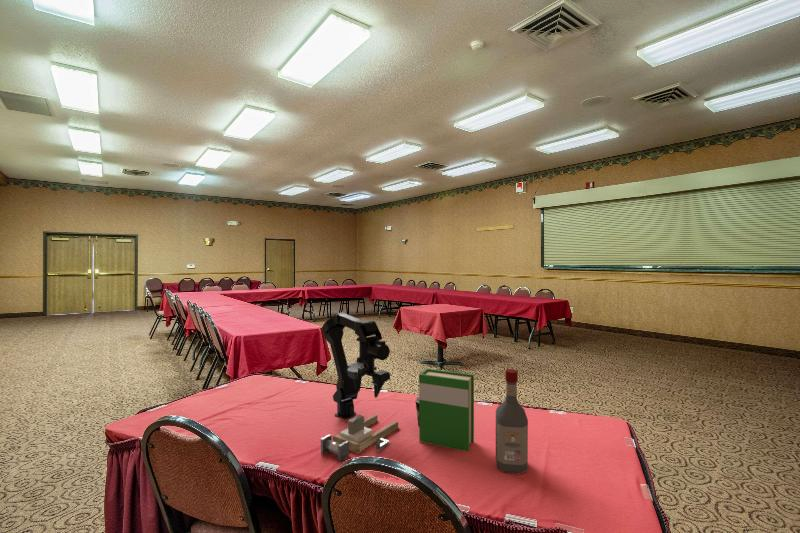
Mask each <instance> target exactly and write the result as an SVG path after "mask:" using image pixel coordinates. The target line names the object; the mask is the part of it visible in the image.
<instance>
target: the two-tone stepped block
mask: <svg viewBox="0 0 800 533" xmlns="http://www.w3.org/2000/svg"><path fill="white" fill-rule="evenodd" d="M364 420H365V416H364V415H362V414H359V415H356V416H354V417H351V418H350V419H348V420H347V428H345V429H343V430H342V431H341V430H340V431H339V434H340V436H341V437H344V438H346V439H349V440H352V441H354V442H357V443H360V442H362V441H363V440H365V439H366V438H368V437H370V436H371V435H373V429H371V428H369V427H364Z"/></svg>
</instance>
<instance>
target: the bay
mask: <svg viewBox="0 0 800 533" xmlns="http://www.w3.org/2000/svg"><path fill="white" fill-rule="evenodd" d="M376 421H377V422H378V414H376V413H375V414H373V415H370V416H369V417H368V418H365V419H364V427H366V428H368V427H369V425H370V426H371V425H373V424H375V423H377V422H376ZM374 422H375V423H374ZM372 423H373V424H372ZM367 426H368V427H367ZM398 428H399V421H398V420H394V421H392V422H391V423H389V424H388V425H387V426H384V427H383V428H381V429H380V430H378V431H376V432H375V433H372V435H371V436H370V437H368V438H366V439H365V440H363V441H362V442H360V443H357V442H354V441H352V440H349V439H346V438H344V437H341V436H340V433H338V434H332V441H335V442H337V443H340V444H342V443H343V442H345V441H349V450H350V451H349V452H352V451H353V452H352V453H354V452H356V453H355V454H357V453H358V452H359V453H361V452H362V450H363V449H364V450H366V449H367V448H369V447H370V446H372V445H374V444H376V441H378V438H380V437H381V438H383V439H384V438H385V437H386V436H388V435H389V434H391V433H392V432H395V431H396V430H397V429H398ZM368 446H369V447H368ZM365 448H366V449H365ZM364 450H363V451H364ZM360 451H361V452H360ZM359 453H358V454H359Z"/></svg>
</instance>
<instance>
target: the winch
mask: <svg viewBox="0 0 800 533" xmlns="http://www.w3.org/2000/svg"><path fill="white" fill-rule="evenodd" d="M328 452H332V453H334V454H336V455H337V461H338V462H342V461H344V460H346V459H347V458H348V457H347V456H349V457H350V451H349V441H345V442H343V443H342V444H340V443H337V442H335V441H333V435H332V434H330V433H329V434H326V435H325V436H323V437H321V438H320V454H322V455H324V454H326V453H328ZM346 457H347V458H346ZM345 458H346V459H345Z"/></svg>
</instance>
